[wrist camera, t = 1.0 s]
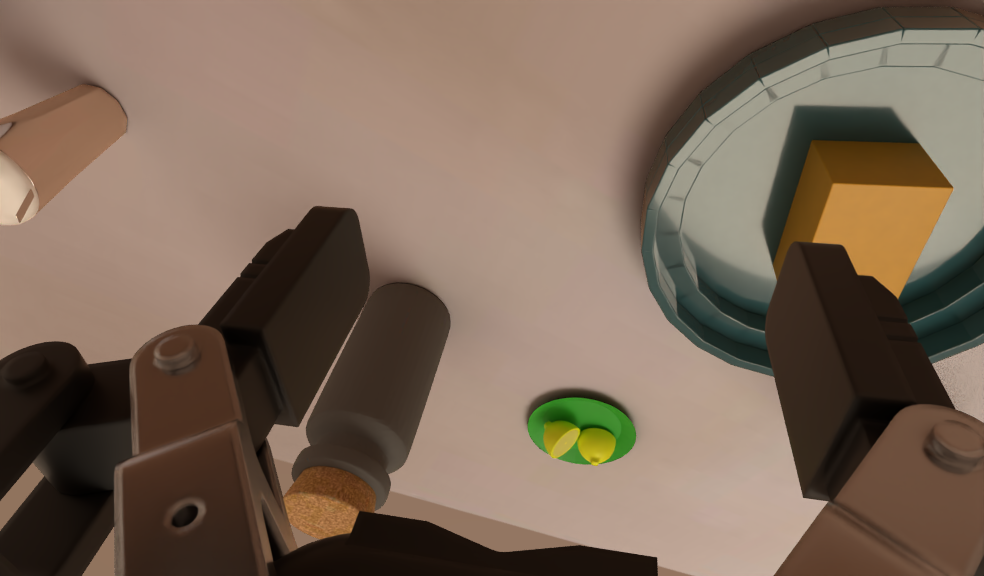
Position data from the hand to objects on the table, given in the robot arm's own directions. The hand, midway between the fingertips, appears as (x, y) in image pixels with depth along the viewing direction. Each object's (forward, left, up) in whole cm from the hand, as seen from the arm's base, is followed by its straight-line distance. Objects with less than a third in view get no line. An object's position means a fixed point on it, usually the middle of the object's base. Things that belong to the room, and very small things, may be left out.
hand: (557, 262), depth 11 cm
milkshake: (+6, -28, -19) cm, 34 cm away
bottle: (+20, -12, -20) cm, 30 cm away
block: (+10, +12, -19) cm, 25 cm away
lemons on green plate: (+30, 0, -20) cm, 36 cm away
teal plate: (+10, +12, -19) cm, 25 cm away
